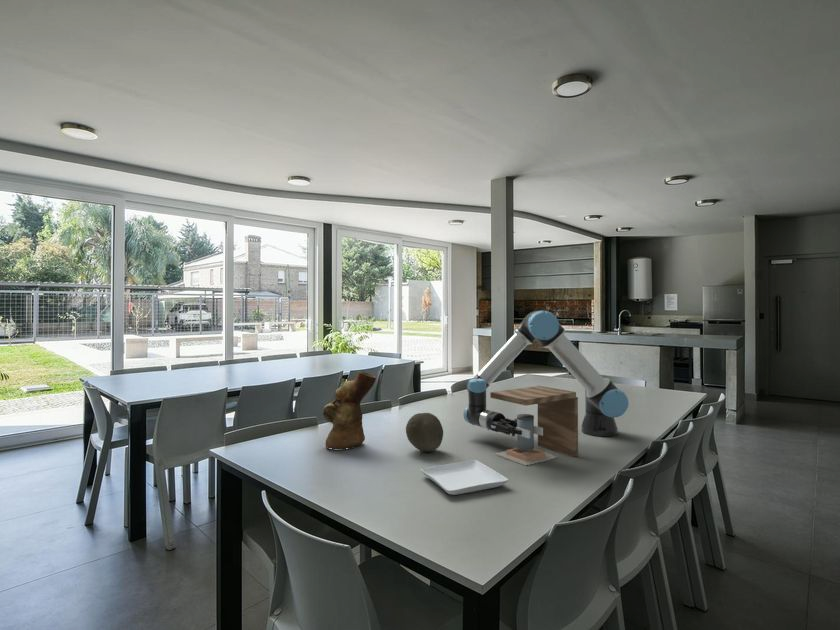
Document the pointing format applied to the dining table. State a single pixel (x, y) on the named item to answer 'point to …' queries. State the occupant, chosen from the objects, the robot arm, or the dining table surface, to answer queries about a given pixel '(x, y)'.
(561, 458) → the dining table surface
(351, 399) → the ceramic vessel
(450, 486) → the salad plate
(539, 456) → the seat collar
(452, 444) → the dining table surface
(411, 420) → the cantaloupe
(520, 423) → the canister
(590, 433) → the robot arm
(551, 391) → the shelf
